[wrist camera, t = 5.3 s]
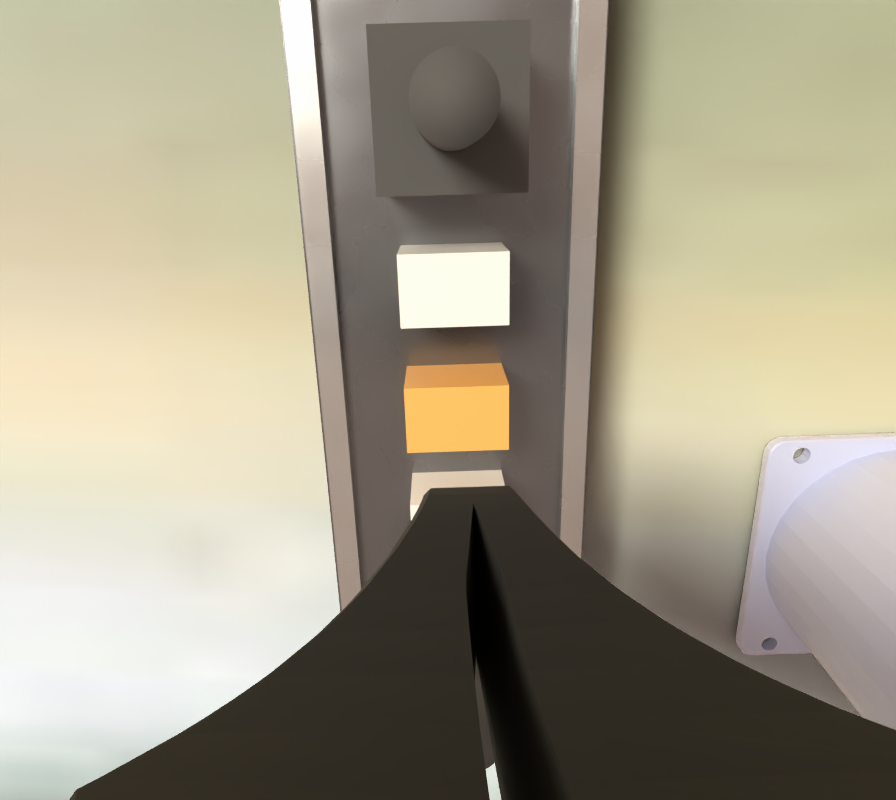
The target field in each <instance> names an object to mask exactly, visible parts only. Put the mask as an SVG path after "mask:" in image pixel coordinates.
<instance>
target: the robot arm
mask: <svg viewBox="0 0 896 800" xmlns="http://www.w3.org/2000/svg"><path fill="white" fill-rule="evenodd" d="M800 448H803V449H804V450H803V453H802V454H801V455H800V456H799V457H797V458H793V455H794V453H795V452H796V451H797V450H798V449H800ZM767 638H770V639H769V640H768V641H767V642H763V641H764V640H765V639H767ZM736 643H737V645H738V646H739V648H740V649H741V651H742V652H743V653H745V654H746V655H778V654H805V653H812V654H813V655H814V656H815V658H816V659H817V660H818V661H819V663H820V664H821V665H822V667H823V668H824V669H825V670H826V672H827V673H828V674H829V676H830V677H831V678H832V679H833V681H834V682H835V683H836V685H837V686H838V687H839V688H840V690H841V691H842V692H843V694H844V695H845V696H846V697H847V699H848V700H849V701H850V703H851V704H852V705H853V706H854V708H855V709H856V710H857V711H858V713H859V714H860V715H861V717H860V716H857V715H854V714H852V713H849V712H846V711H844V710H841V709H839V708H837V707H834V706H832V705H829V704H827V703H825V702H823V701H820V700H818V699H816V698H814V697H811V696H809V695H807V694H805V693H802V692H800V691H798V690H796V689H794V688H791V687H789V686H787V685H785V684H782V683H780V682H778V681H776V680H773V679H771V678H769V677H767V676H765V675H763V674H761V673H759V672H757V671H755V670H753V669H751V668H749V667H747V666H745V665H743V664H741V663H739V662H737V661H735V660H733V659H731V658H729V657H727V656H725V655H724V654H722V653H720V652H718V651H716V650H715V649H713V648H711V647H709V646H707V645H706V644H704V643H702V642H700V641H698V640H696V639H695V638H693V637H691V636H689V635H687V634H686V633H684V632H682V631H681V630H679V629H677V628H676V627H674V626H673V625H671V624H669V623H668V622H666V621H664V620H663V619H661V618H660V617H658V616H657V615H655V614H654V613H652V612H651V611H649V610H648V609H646V608H645V607H643V606H642V605H640V604H639V603H638V602H636V601H635V600H633V599H632V598H630V597H629V596H627V595H626V594H624V593H623V592H622V591H620V590H619V589H618V588H616V587H615V586H614V585H612V584H611V583H610V582H608V581H607V580H606V579H605V578H603V577H602V576H601V575H600V574H599V573H597V572H596V571H595V570H594V569H593V568H591V567H590V566H589V565H588V564H586V563H585V562H584V561H583V560H582V559H581V558H579V557H578V556H577V555H576V554H575V553H574V552H573V551H572V550H571V549H570V548H569V547H568V546H567V545H566V544H565V543H564V542H563V541H562V540H560V539H559V538H558V537H557V536H556V535H555V534H554V533H553V532H552V531H551V530H550V529H549V528H548V527H547V526H546V525H545V523H544V522H543V521H542V520H541V519H540V518H539V517H538V516H537V515H536V514H535V513H534V512H533V511H532V509H531V508H530V507H529V506H528V505H527V504H526V503H525V502H524V500H523V499H522V498H521V497H520V496H519V495H518V494H517V492H516V491H515V490H513V489H512V488H511V487H510V486H481V487H451V488H431V489H429V490H428V491H427V492H426V493H425V494H424V496H423V499H422V501H421V503H420V505H419V507H418V509H417V511H416V513H415V515H414V517H413V518H412V520H411V522H410V523H409V525H408V527H407V529H406V530H405V532H404V533H403V535H402V536H401V538H400V539H399V541H398V542H397V543H396V545H395V546H394V548H393V549H392V551H391V552H390V554H389V555H388V557H387V558H386V559H385V561H384V562H383V563H382V564H381V566H380V567H379V568H378V569H377V571H376V572H375V573H374V574H373V576H372V577H371V578H370V579H369V581H368V582H367V583H366V584H365V585H364V587H363V588H362V589H361V590H360V591H359V593H358V594H357V595H356V596H355V597H354V598H353V599H352V600H351V601H350V603H349V604H348V605H347V606H346V607H345V608H344V609H343V610H342V611H341V612H340V613H339V614H338V615H337V616H336V617H335V618H334V619H333V620H332V621H331V622H330V623H329V624H328V625H327V626H326V627H325V628H324V629H323V630H322V631H321V632H320V633H319V634H318V635H316V636H315V637H314V638H313V639H312V640H311V641H310V642H308V643H307V644H306V645H305V646H303V647H302V648H301V649H300V650H298V651H297V652H296V653H295V654H294V655H292V656H291V657H290V658H289V659H287V660H286V661H285V662H284V663H282V664H281V665H280V666H279V667H278V668H276V669H275V670H274V671H273V672H271V673H270V674H269V675H267V676H266V677H265V678H263V679H262V680H260V681H259V682H258V683H256V684H255V685H253V686H252V687H250V688H249V689H248V690H246V691H245V692H243V693H242V694H240V695H239V696H238V697H236V698H235V699H233V700H232V701H230V702H229V703H227V704H226V705H224V706H222V707H221V708H219V709H218V710H216V711H215V712H213V713H212V714H210V715H209V716H207V717H205V718H204V719H202V720H201V721H199V722H198V723H196V724H194V725H193V726H191V727H189V728H188V729H186V730H184V731H183V732H181V733H179V734H178V735H176V736H174V737H172V738H171V739H169V740H167V741H165V742H163V743H162V744H160V745H158V746H156V747H154V748H153V749H151V750H149V751H147V752H145V753H144V754H142V755H140V756H138V757H136V758H135V759H133V760H131V761H129V762H127V763H126V764H124V765H122V766H120V767H118V768H116V769H115V770H113V771H111V772H109V773H107V774H106V775H104V776H102V777H100V778H98V779H96V780H94V781H92V782H90V783H88V784H87V785H85V786H83V787H81V788H79V789H77V790H76V791H75V792H74V794H73V795H72V797H71V798H70V800H490V799H489V792H488V785H487V778H486V770H485V762H484V755H483V747H482V739H481V732H480V724H479V715H478V706H477V697H476V688H475V668H476V660H477V666H478V671H479V677H480V683H481V688H482V694H483V699H484V705H485V711H486V716H487V722H488V727H489V733H490V738H491V744H492V749H493V755H494V760H495V766H496V771H497V777H498V782H499V788H500V793H501V799H502V800H896V433H877V434H847V435H817V436H788V437H778V438H775V439H773V440H771V441H770V442H769V443H768V444H767V445H766V447H765V449H764V452H763V459H762V466H761V472H760V479H759V486H758V492H757V499H756V506H755V512H754V519H753V526H752V533H751V539H750V546H749V553H748V559H747V566H746V573H745V579H744V586H743V593H742V599H741V606H740V613H739V620H738V626H737V633H736Z"/></svg>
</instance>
